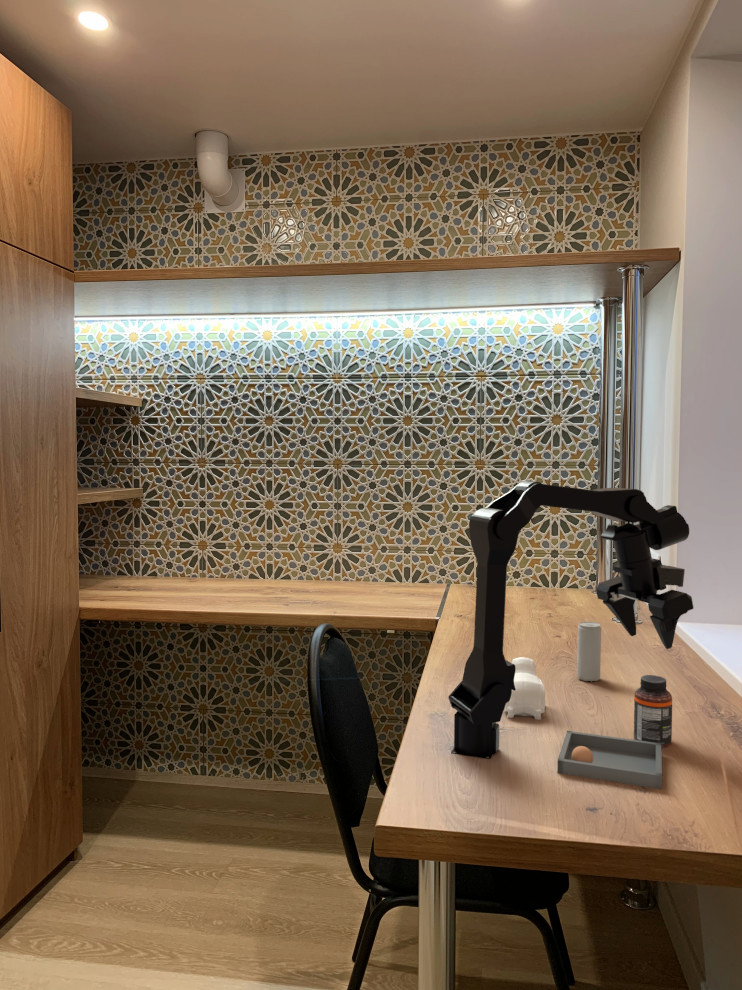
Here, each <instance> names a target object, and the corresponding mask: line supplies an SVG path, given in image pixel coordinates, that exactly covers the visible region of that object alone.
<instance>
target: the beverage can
mask: <svg viewBox="0 0 742 990" xmlns="http://www.w3.org/2000/svg"><path fill="white" fill-rule="evenodd" d="M601 626H602V625H601V624H600V623H598V622H593V621H582V622H578V626H577V655H576V657H577V660H576V662H577V663H576V675H577V678H578V679H579V680H580V679H581V681H584V682H587V681H591V682H590V683H593V682H592V681H595V682H597V681H599V680H600V679H601V665H602V664H601V661H602V660H601V659H602V657H601V655H602V627H601Z"/></svg>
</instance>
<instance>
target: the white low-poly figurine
mask: <svg viewBox="0 0 742 990" xmlns="http://www.w3.org/2000/svg"><path fill="white" fill-rule="evenodd" d="M511 663H512V664H514V665H515V669H516V671H515V676H514V686H515V689H516V690H515V691H514V690H512V694H511V698H510V701H509V702H507V703H506V705H505V708H504V711H507V718H510V719H513V718H514V716H523V717H532V718H534V719H535V720H536V721H537V720H540V721H541V720H542V716H541V715H542V714H543V713H545V710H546V709H545V708H546V707H547V703H546V687H545V686H544V684H543V681H542V680H541V679H540V678H539V677H538V676H537V666H536V664H535V661H534V659H532V658H528V657H525V656H522V657H521V656H519V657H516V658H513V659H512V661H511Z"/></svg>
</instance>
